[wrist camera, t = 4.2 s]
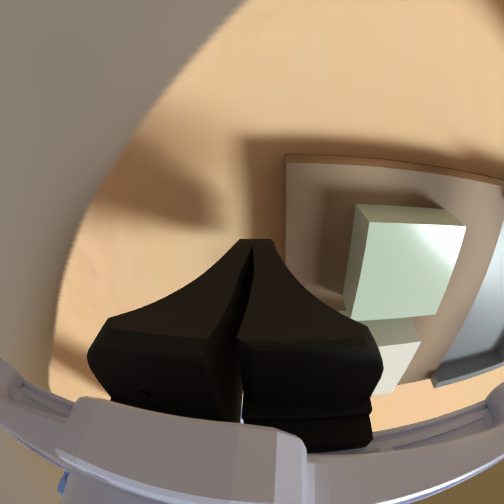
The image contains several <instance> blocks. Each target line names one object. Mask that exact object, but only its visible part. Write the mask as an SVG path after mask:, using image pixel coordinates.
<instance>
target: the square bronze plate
mask: <svg viewBox="0 0 504 504" xmlns="http://www.w3.org/2000/svg"><path fill="white" fill-rule="evenodd" d="M355 204H371V205H391V206H407V207H422V208H434V209H445V210H446V211H448V212H449V213H450V214H451V215H453V216H454V217H455V218H456V219H458V220H459V221H460V222H461V223H462V224H464V225H465V226H466V229H465V233H464V237H463V240H462V244H461V247H460V250H459V254H458V257H457V260H456V263H455V266H454V269H453V272H452V275H451V277H450V280H449V283H448V285H447V288H446V291H445V293H444V296H443V298H442V301H441V303H440V305H439V308H438V310H437V312H436V314H434V315H425V316H416V317H410V318H411V320H412V322H413V325H414V327H415V329H416V331H417V333H418V335H419V337H420V339H421V343H420V345H419V347H418V349H417V351H416V353H415V354H414V356H413V358H412V360H411V362H410V363H409V365H408V367H407V369H406V370H405V372H404V374H403V376H402V377H401V379H400V381H399V382H398V384H397V385H400V384H405V383H411V382H416V381H421V380H426V379H430V378H431V377H432V375H433V374H434V372H435V371H436V369H437V368H438V366H439V365H440V363H441V362H442V360H443V358H444V357H445V355H446V354H447V352H448V350H449V349H450V347H451V345H452V344H453V342H454V340H455V338H456V337H457V335H458V333H459V331H460V329H461V327H462V326H463V324H464V322H465V320H466V318H467V316H468V314H469V312H470V310H471V308H472V306H473V303H474V301H475V299H476V297H477V295H478V292H479V290H480V288H481V285H482V283H483V281H484V278H485V276H486V273H487V270H488V268H489V265H490V262H491V260H492V257H493V254H494V251H495V248H496V245H497V242H498V238H499V235H500V232H501V228H502V224H503V221H504V185H503V184H502V183H500V182H498V181H496V180H494V179H492V178H490V177H487V176H483V175H479V174H474V173H469V172H464V171H459V170H454V169H449V168H443V167H437V166H431V165H424V164H417V163H410V162H402V161H394V160H384V159H374V158H362V157H348V156H330V155H297V154H284V263H285V265H286V266H287V268H288V269H289V270H290V271H291V273H292V274H293V275H294V276H295V278H296V279H297V280H298V281H299V282H300V283H301V284H302V285H303V286H304V287H305V288H306V289H307V290H308V291H309V292H310V293H311V294H313V295H314V296H315V297H317V298H318V299H319V300H321V301H322V302H323V303H325V304H326V305H328V306H329V307H331V308H333V309H334V310H336V311H347V310H346V306H345V303H344V300H343V296H342V294H343V288H344V283H345V277H346V271H347V265H348V258H349V252H350V245H351V238H352V230H353V222H354V213H355Z"/></svg>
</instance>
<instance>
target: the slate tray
mask: <svg viewBox="0 0 504 504" xmlns="http://www.w3.org/2000/svg"><path fill="white" fill-rule="evenodd" d="M490 178H492V177H490ZM492 179H494V180H496V181H498V182H500V183H502V184H503V185H504V180H500V179H496V178H492ZM502 366H504V221H503V224H502V228H501V232H500V235H499V238H498V242H497V245H496V248H495V251H494V254H493V257H492V260H491V262H490V265H489V268H488V270H487V273H486V276H485V278H484V281H483V283H482V285H481V288H480V290H479V292H478V295H477V297H476V299H475V301H474V303H473V306H472V308H471V310H470V312H469V314H468V316H467V318H466V320H465V322H464V324H463V326H462V327H461V329H460V331H459V333H458V335H457V337H456V338H455V340H454V342H453V344H452V345H451V347H450V349H449V350H448V352H447V354H446V355H445V357H444V358H443V360H442V362H441V363H440V365H439V366H438V368H437V369H436V371H435V372H434V374H433V375H432V377H431V378H430V379H431V382H432V384H433V387H434V388H437V387H441V386H445V385H448V384H452V383H455V382H459V381H462V380H465V379H468V378H472V377H475V376H478V375H480V374H483V373H486V372H489V371H492V370H494V369H497V368H499V367H502Z"/></svg>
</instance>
